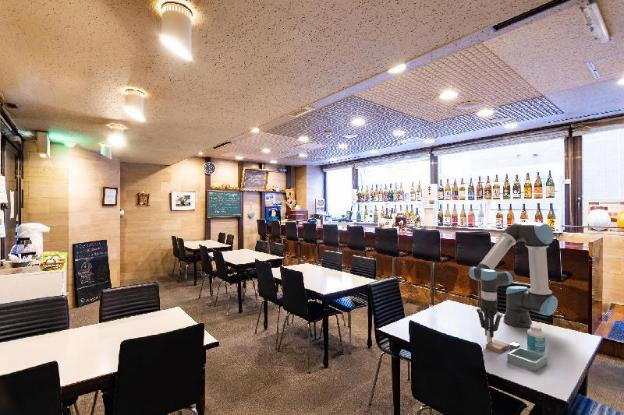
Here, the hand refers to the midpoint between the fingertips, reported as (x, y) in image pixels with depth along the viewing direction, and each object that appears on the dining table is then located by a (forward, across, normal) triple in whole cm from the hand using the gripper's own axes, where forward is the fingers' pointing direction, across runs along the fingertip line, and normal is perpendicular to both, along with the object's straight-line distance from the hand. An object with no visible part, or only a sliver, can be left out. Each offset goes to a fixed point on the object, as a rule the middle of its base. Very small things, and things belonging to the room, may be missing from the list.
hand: (489, 342), depth 168 cm
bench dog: (+1, +12, 0) cm, 13 cm away
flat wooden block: (+2, +4, 0) cm, 5 cm away
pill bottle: (+2, +18, +10) cm, 21 cm away
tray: (+1, +20, -5) cm, 21 cm away
